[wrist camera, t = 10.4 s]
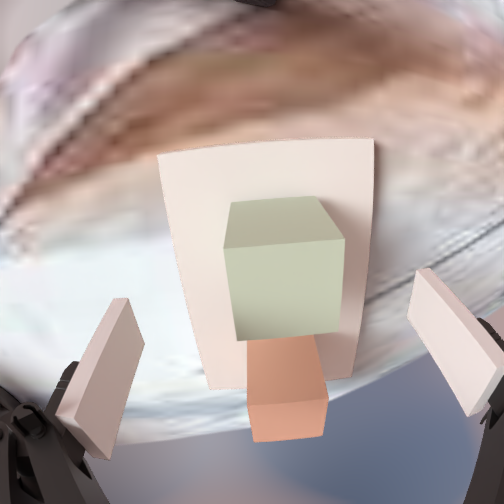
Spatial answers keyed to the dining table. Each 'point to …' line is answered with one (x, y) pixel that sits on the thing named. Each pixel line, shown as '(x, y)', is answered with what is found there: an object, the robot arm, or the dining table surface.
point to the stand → (215, 276)
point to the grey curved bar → (259, 2)
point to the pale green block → (283, 268)
